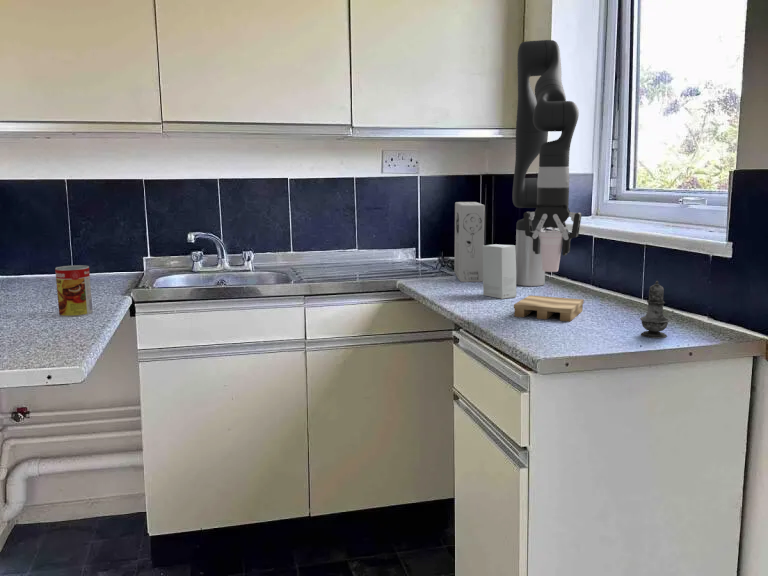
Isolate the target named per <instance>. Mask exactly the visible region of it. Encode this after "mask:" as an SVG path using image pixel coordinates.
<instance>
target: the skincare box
mask: <svg viewBox="0 0 768 576" xmlns="http://www.w3.org/2000/svg"><path fill="white" fill-rule="evenodd" d="M482 254H483V282H482V283H483V284H482V286H483V289H482V291H483V293H482V294H483V296H484V297H486V296H487V297H492V298H496V299H501V300H502V299H503V300H505V299H512V298H516V297H517V284H516V244H515V245H514V244H500V243H499V244H497V243H495V244H486V245H485V244H484V246H482Z"/></svg>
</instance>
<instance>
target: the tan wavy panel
mask: <svg viewBox="0 0 768 576" xmlns="http://www.w3.org/2000/svg"><path fill="white" fill-rule="evenodd" d="M584 300H585V299H583V298H582V299H581V298H571V297H570V298H567V297H558V296H557V297H556V296H542V295H533V294H532V295H527V296H526V297H524V298H522V299H520V300H519V301H517V302H515V303H514V304H513V309H514V312H513V313H514V315H513V316H514V317H517V318H525V317H527V316H528V315H530V314H531V313H532V312H535V311H536V319H538V320H548V319H549V318H551V317H552V316H554V314H556V313H559V321H561V322H572V321H573V320H574V319H576V317H578V316H579V314H581V313H582V312H583V307H584V304H585V303H584V302H585V301H584Z"/></svg>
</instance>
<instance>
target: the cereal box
mask: <svg viewBox="0 0 768 576" xmlns="http://www.w3.org/2000/svg"><path fill="white" fill-rule="evenodd" d="M485 207H486V205H485V204H482V203H480V202H477V201H456V202H455V203H454V260H453V261H454V263H453V264H454V266H453V267H454V269H453V270H454V271H453V272H454V274H455V275H456V277H457V278H458V280H459V282H460V283H483V254H482V246H485V215H486V214H485Z"/></svg>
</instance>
